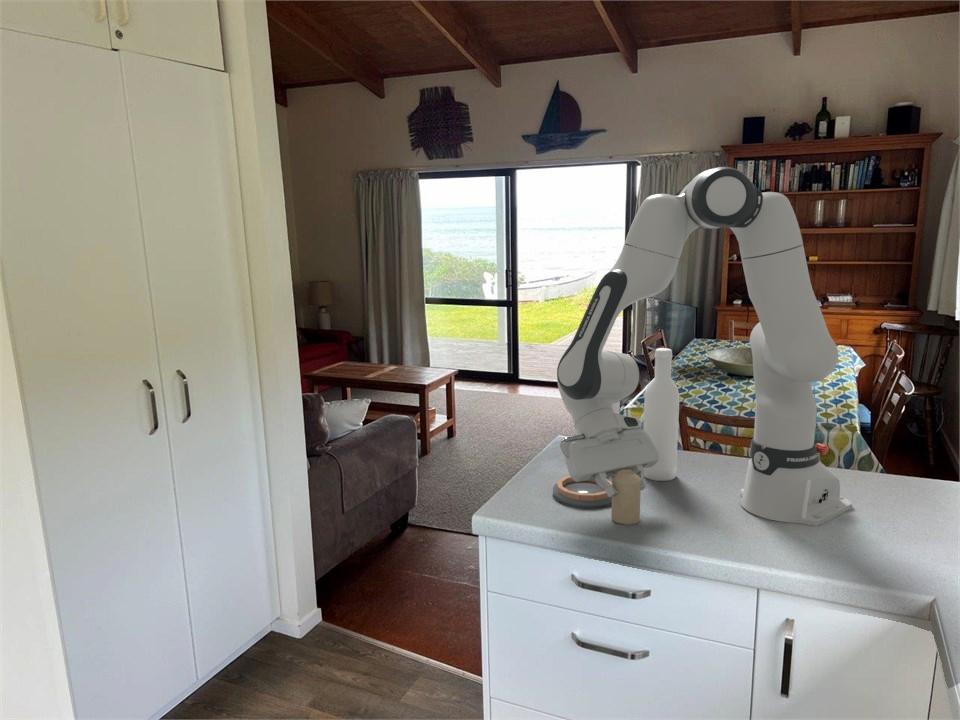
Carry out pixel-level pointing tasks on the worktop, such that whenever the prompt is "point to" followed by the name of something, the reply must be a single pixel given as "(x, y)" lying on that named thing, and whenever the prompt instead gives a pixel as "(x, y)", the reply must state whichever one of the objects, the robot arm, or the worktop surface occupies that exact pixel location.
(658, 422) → the bottle
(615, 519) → the candle
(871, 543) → the worktop surface
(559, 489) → the tray
